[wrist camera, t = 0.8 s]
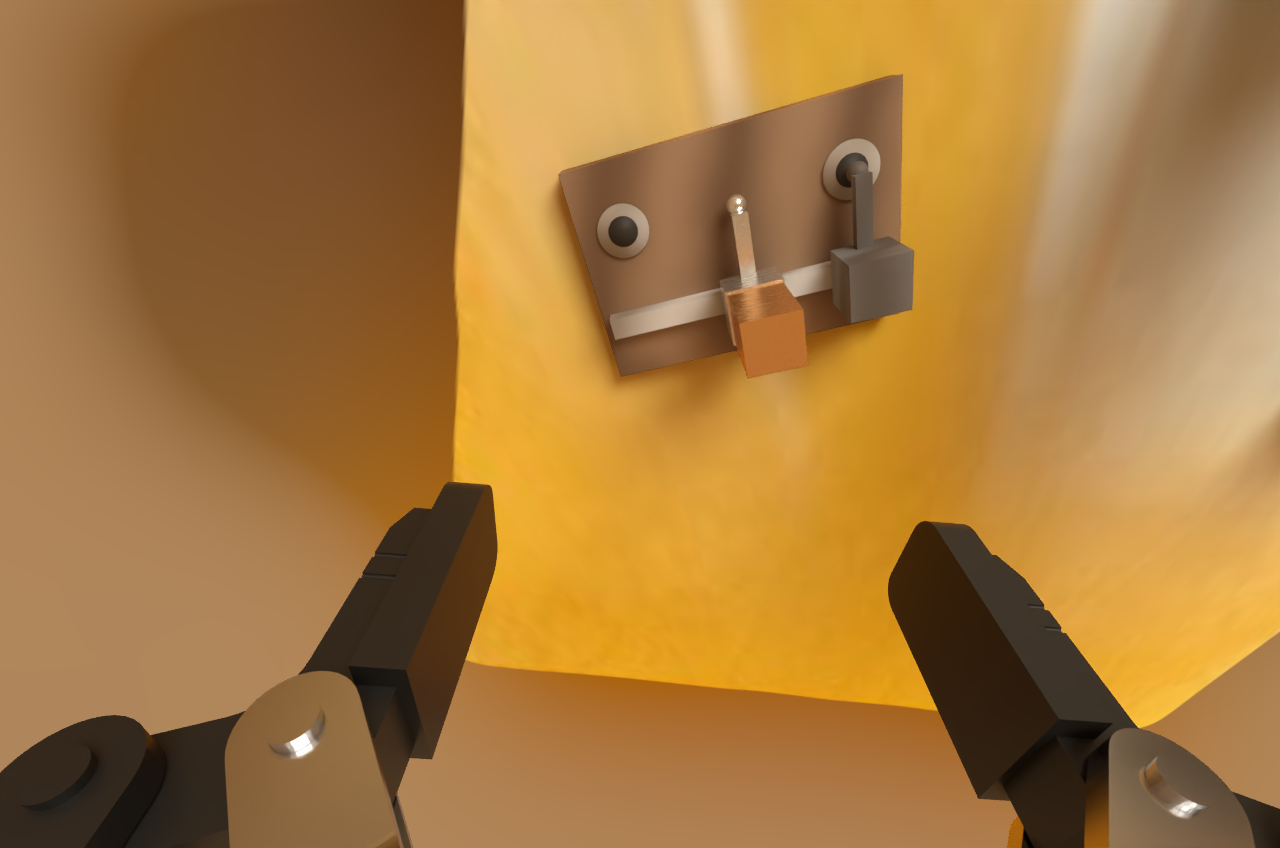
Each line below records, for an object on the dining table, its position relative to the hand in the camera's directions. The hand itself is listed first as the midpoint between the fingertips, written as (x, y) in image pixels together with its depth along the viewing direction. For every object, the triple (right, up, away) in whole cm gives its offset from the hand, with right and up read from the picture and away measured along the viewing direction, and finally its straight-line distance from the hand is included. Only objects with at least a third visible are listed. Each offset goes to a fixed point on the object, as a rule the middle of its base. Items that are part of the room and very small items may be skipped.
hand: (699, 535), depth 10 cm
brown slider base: (+4, +13, +20) cm, 24 cm away
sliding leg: (+5, +11, +18) cm, 22 cm away
